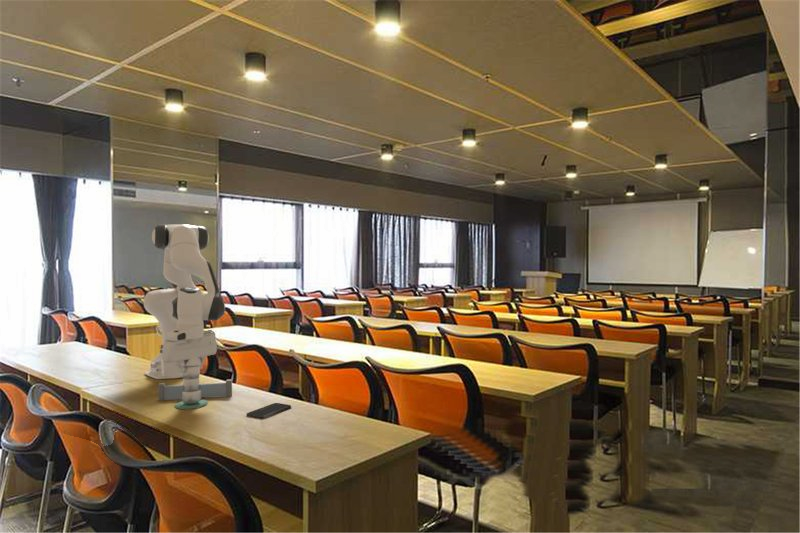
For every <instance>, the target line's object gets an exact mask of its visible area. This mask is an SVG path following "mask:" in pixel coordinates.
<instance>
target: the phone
mask: <svg viewBox="0 0 800 533" xmlns="http://www.w3.org/2000/svg"><path fill="white" fill-rule="evenodd" d="M291 409H292V405H291V404H285V403H280V402H274V403H271V404H268V405H265V406H263V407H260V408H257V409H255V410H251V411H249V412H247V413H246V417H247V418H252V417H253V418H254V419H259V420H265V419H268V418H269V417H273V416H275V415H278V414H280V413H283V412H286V411H287V410H291Z"/></svg>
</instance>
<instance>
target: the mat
mask: <svg viewBox="0 0 800 533" xmlns="http://www.w3.org/2000/svg"><path fill="white" fill-rule="evenodd" d="M207 405H208V401H207V400H205V399H201V400H200V402H198V403H195V404H184V403H183V402H182V401H180V402H177V403H175V404H174V408H175V409H178V410H194V409H199V408H204V407H206V406H207Z"/></svg>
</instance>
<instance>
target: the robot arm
mask: <svg viewBox="0 0 800 533" xmlns="http://www.w3.org/2000/svg"><path fill="white" fill-rule="evenodd" d="M151 239H152V243H153V245H154V247H155V248H157V249H159V250H164V254H163V277H164V279H165V280H167V281H168V282H170V283H172V284H174V285H176V286H177V287H176V288H166V289H165V288H163V289H155V290H151V291H148V292H147V293H146V294H145V296H144V297H143V307H144V309H145V310H146V312H148V313H149V314H151V315H152V316H153V317H154V318H155V319H156V320H157V321H158V323H159V325H160V328H161V337H162V338H161V340H162V344H161V345H160V346H159V354H158V355H156V356H155V357H154V358H153V359H152V360H151V361H150V370H147V371H145V372H144V375H145V376H148V377H150V378H153V379H154V380H165V379H166V380H167V379H179V378H183V373H185V372H186V371H185V370H186V368H183V366H182V364H183V360H188V359H191V358H192V357H194V356H196V357H198V358H199V359H200V362H201V365H200V370H203V368H204V367H203V365H204V363H205V361H206V357H209V356H212V355H213V356H214V355H216V353H217V351H218V348H217V347H218V346H217V340H216V332H215V331H213V330H212V329H208V330H205V327H204V326H205V324H204V321H209V322H211V321H215V322H217V321H219V320H220V319H221V318H222V317H223V316H225V312H226V305H225V301H224V299H223V295H222V294H221V291H220V289H219V284H218V281H217V279H216V276H215V272H214V269H213V267H212V264H211V262H210V261H209V260H208V259H205V258H204V257H203V255H202V254H201V250H204V249H206V248H207V247H208V245H209V241H210V235H209V232H208V229H207V228H206V227H205V226H202V225H192V224H184V223H181V224H178V223H177V224H165V223H162V224H157V225H155V227H154V229H153V230H152V232H151ZM192 276H195V277H197V278H199V279H201V280H202V281H203V282H204V286H205V289H206V292H207V294H205V293H204V292H203V290H202V289H201V288H199V287H197V286H196V284H195V283H194V281H193V279H192ZM194 352H195V354H194Z"/></svg>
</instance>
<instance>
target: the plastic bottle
mask: <svg viewBox="0 0 800 533" xmlns="http://www.w3.org/2000/svg"><path fill="white" fill-rule="evenodd" d="M194 354H195V352H194ZM200 365H201V362H200V359H199V358H198V357H196V356H194V357H192V358H191V359H188V360H183V364H182V366H183V368H186V370H185V371H186V372H185V373H183V377H182V379H183V380H182V381H183V382H182V385H183V391H182V399H181V402H183V403H184V404H195V403H198V402H200V400H202V398H201V390H200V384H201V383H200V371H201V369H200Z"/></svg>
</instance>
